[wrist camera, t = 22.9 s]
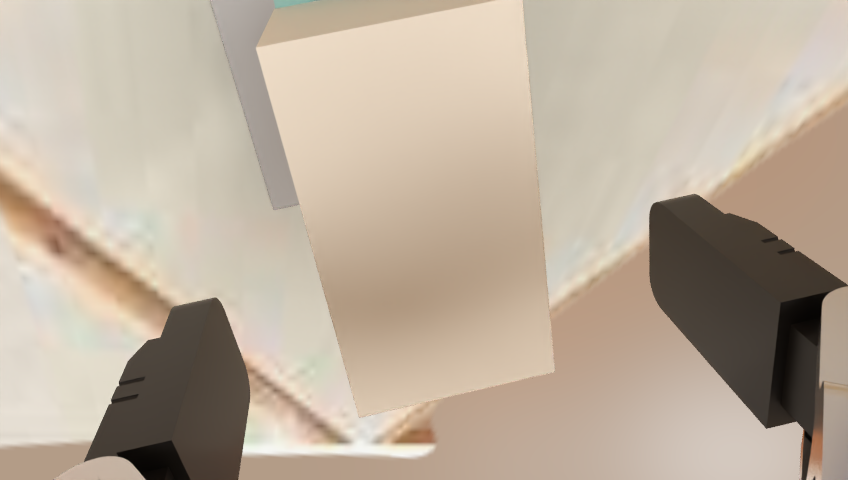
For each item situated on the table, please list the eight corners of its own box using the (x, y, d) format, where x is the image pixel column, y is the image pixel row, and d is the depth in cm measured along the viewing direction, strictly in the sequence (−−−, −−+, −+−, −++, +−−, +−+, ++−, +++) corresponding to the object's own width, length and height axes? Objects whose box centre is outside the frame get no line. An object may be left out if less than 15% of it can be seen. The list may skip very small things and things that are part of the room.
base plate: (469, -100, 28) (475, -101, 27) (498, 153, 34) (504, 160, 33) (199, -50, 28) (195, -48, 27) (275, 200, 33) (273, 210, 32)
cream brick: (457, -27, 17) (522, -5, 12) (494, 260, 21) (554, 371, 16) (274, 9, 17) (255, 48, 12) (348, 293, 21) (359, 418, 16)
